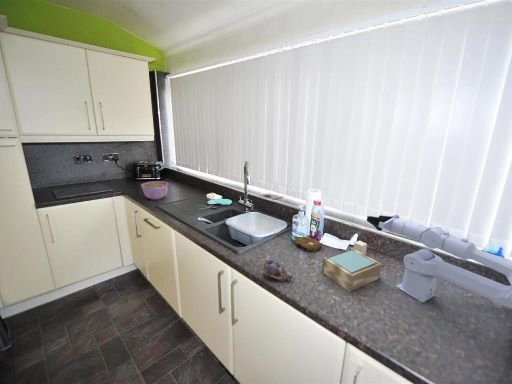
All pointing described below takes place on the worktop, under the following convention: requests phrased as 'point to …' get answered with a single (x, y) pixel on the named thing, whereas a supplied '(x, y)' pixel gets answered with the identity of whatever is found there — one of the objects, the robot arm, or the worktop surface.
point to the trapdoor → (352, 261)
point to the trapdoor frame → (349, 279)
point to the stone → (360, 247)
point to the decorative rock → (308, 243)
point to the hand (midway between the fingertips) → (373, 218)
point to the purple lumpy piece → (276, 271)
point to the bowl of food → (155, 189)
